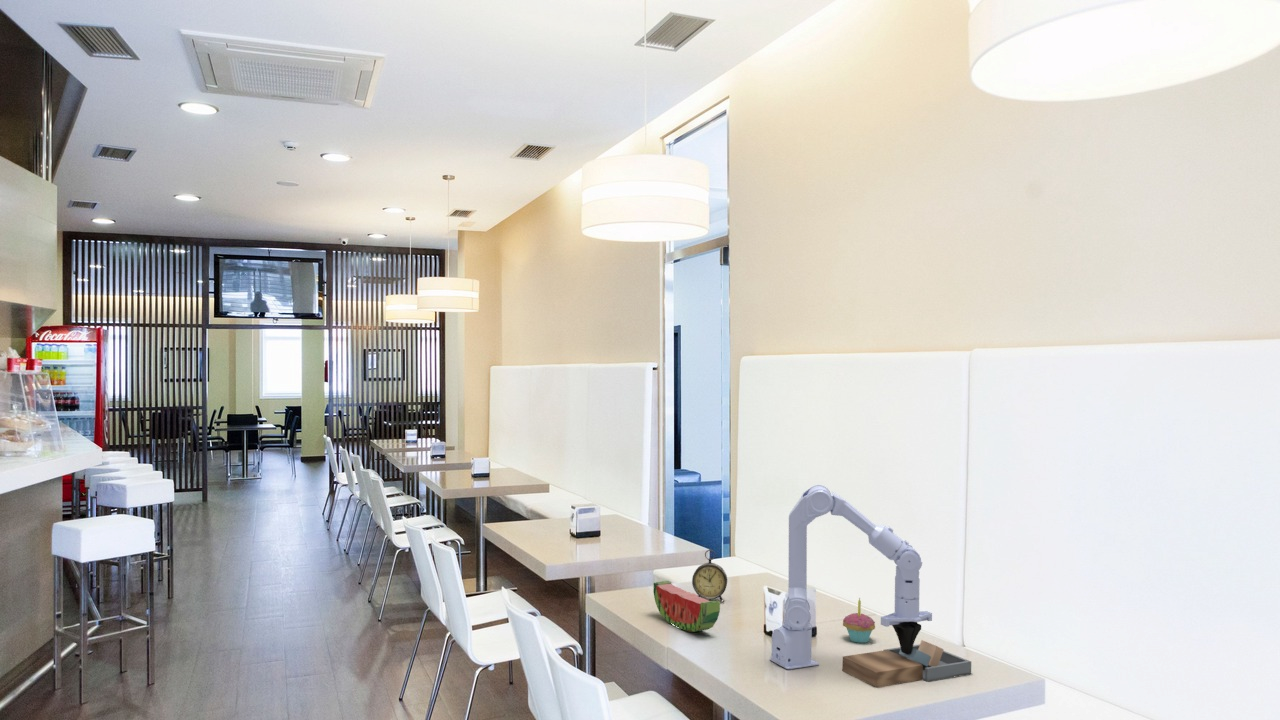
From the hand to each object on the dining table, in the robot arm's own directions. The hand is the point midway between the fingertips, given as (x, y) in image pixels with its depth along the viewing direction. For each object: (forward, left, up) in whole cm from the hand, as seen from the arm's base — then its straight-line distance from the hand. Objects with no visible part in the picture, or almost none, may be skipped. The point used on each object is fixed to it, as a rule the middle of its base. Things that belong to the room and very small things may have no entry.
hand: (906, 652), depth 201 cm
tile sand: (+6, 0, 0) cm, 6 cm away
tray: (+7, 0, -4) cm, 8 cm away
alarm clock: (-12, +74, -5) cm, 75 cm away
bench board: (-7, 0, -4) cm, 9 cm away
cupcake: (+6, +24, -5) cm, 25 cm away
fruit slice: (-33, +52, -5) cm, 62 cm away
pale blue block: (+2, 0, -2) cm, 3 cm away
